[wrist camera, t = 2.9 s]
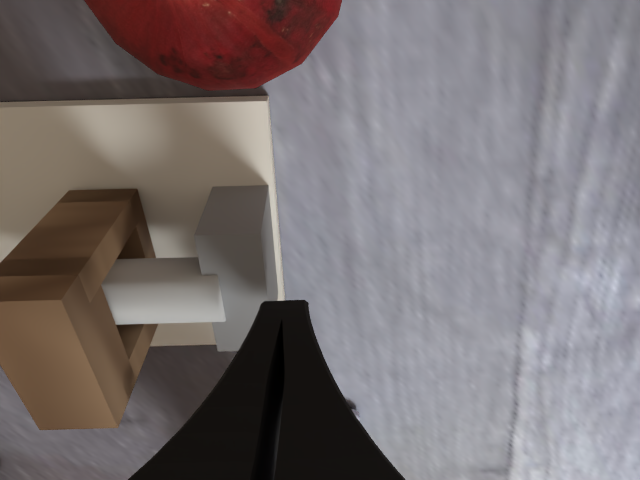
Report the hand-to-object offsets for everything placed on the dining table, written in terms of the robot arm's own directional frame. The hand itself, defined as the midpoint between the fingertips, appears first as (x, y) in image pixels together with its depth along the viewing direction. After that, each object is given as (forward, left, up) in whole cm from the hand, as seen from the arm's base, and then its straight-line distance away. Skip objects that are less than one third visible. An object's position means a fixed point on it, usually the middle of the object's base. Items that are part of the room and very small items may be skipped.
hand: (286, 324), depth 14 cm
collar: (0, +6, -5) cm, 8 cm away
